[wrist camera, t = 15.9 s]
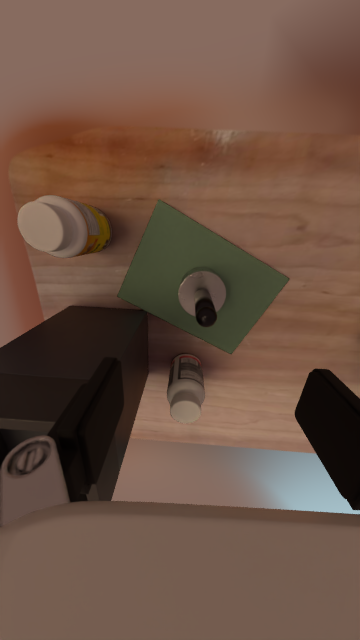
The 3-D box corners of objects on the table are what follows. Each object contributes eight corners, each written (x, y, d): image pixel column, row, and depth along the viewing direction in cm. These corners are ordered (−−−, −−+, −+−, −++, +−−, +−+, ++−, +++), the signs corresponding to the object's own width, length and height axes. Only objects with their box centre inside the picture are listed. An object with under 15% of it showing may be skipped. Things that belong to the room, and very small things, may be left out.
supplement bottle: (80, 255, 28) (24, 265, 18) (65, 210, 26) (-7, 196, 16) (118, 248, 27) (81, 256, 18) (106, 202, 25) (57, 182, 16)
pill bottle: (184, 383, 36) (182, 433, 27) (164, 364, 34) (155, 410, 25) (208, 367, 34) (215, 415, 25) (188, 346, 33) (188, 389, 24)
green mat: (118, 295, 30) (116, 296, 29) (159, 199, 25) (158, 199, 24) (230, 352, 33) (231, 354, 32) (287, 278, 28) (289, 279, 27)
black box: (81, 369, 36) (-33, 512, 17) (70, 305, 31) (-105, 410, 13) (148, 373, 35) (104, 524, 17) (147, 310, 31) (84, 424, 12)
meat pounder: (172, 296, 29) (162, 332, 18) (192, 258, 27) (194, 274, 16) (207, 315, 30) (217, 359, 19) (230, 280, 28) (255, 308, 17)
